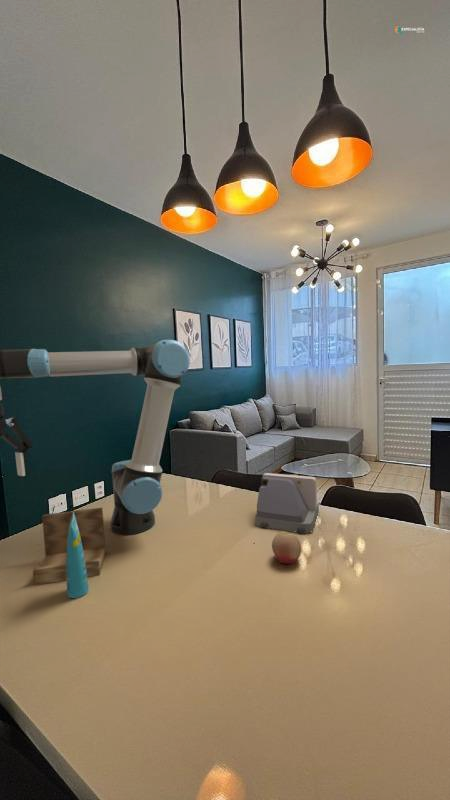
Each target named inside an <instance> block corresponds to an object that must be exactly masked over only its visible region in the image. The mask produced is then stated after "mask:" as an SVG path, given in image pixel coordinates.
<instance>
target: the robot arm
mask: <svg viewBox="0 0 450 800" xmlns="http://www.w3.org/2000/svg"><path fill="white" fill-rule="evenodd" d="M190 363H191V356H190V353H189V350H187V348H186V346H185V345H184V344H183V343H182V342H179V341H177V340H175V339H163V340H160V341H158V342H156V343H153V344H150V345H147V346H142V347H141V346H140V347H139V346H138V347H131V348H130V350H107V351H106V350H101V351H100V350H98V351H97V350H96V351H92V350H91V351H59V352H58V351H57V352H56V351H55V352H54V351H53V352H51V351H50V352H48V351H47V349H45V348H38V349H37V348H30V349H29V348H26V349H25V348H24V349H23V348H22V349H0V380H1V379H5V380H6V379H22V378H26V379H35V378H49V377H70V376H71V377H72V376H74V377H75V376H88V375H89V376H92V375H113V374H115V375H117V374H131V375H132V376H134V377H137V376H139V377H140V376H144V377H143V379H144V381H145V382H146V384H147V386H146V391H145V395H144V399H143V400H144V401H143V405H142V409H141V414H140V418H139V422H138V428H137V433H136V438H135V443H134V447H133V450H132V451H133V452H132V455H131V456H132V457H131V459H127V460H121V461H118V462H115V463H113V464H112V466H111V474H112V475H111V477H112V488H113V503H114V507H113V511H112V515H111V519H110V531H111V532H113V534H116V535H123V536H125V535H126V536H128V535H137V534H139V533H142V532H146V531H148V530H149V529H151V528H153V526H155V524H156V515H155V513H154V509H156V508H157V507H158V506H159V504H160V503H161V502H162V501H161V500H162V497H163V489H162V485H161V484H160V483H161V480H162V474H163V469H162V466H161V465H160V460H161V456H162V451H163V447H164V442H165V437H166V434H167V433H166V431H167V428H168V423H169V419H170V418H169V417H170V413H171V407H172V403H173V398H174V393H175V391H176V390H177V389H178V388H180V387H181V384H182V379H183V375H185V373H186V372H187V371H188V369H189V368H190ZM2 396H3V395H2V388H1V385H0V401H2V400H3V397H2ZM3 405H4V404H3V403H2V402H0V438H1V439H3V440H4V441H5V442H6V443H8V444H9V445H10V446H11V447H13V448H14V449H16V450H17V452H16V451H15V452H14V454H15V455H14V456H15V463H16V464H15V465H16V472H17V476H19V477H25V476H26V469H25V464H26V463H27V459H28V458H27V452H28V451H29V449H32V448H33V447H34V446H33V444H32V442H31V441H30V439H29V438H28V436H26V434H25V432H24V431H23V429H22V428H21V426H20V425H19V420H18V418H17V417H9V418H8V419H5V413H4V406H3ZM6 425H7V426H8V427H10V429H11V431H13V433H14V435H15V436H16V437H17V439H18V440H19V441H20V442H19V441H18V440H17V439H15V438H14V437H13V436H12V435H11V434H10V433H9V432H8V431H6V430H5V427H6Z"/></svg>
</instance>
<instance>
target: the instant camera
mask: <svg viewBox="0 0 450 800" xmlns="http://www.w3.org/2000/svg"><path fill="white" fill-rule="evenodd" d="M257 496H258V497H257V502H256V514H255V526H256V527H258V526H259V528H263V527H264V529H270V528H272V529H271V530H276V529H280V530H279V531H283V530H286V531H285V532H290V531H294V532H293V533H296V532H300V533H299V534H303V533H310V532H311V531H313V532H314V530H313V528H314V529H315V527H314V525H315V526H316V524H315V522H316V523H317V521H316V519H317V520H318V518H317V516H318V517H319V515H318V513H319V514H320V512H319V511H320V510H319V509H320V506H319V505H320V501H319V500H318V499H317V478H316V477H314V476H306V475H297V474H296V475H294V474H284V473H282V474H281V473H270V472H265V473H264V474H262V477H261V485H260V487H259V490H258V495H257ZM295 531H296V532H295ZM310 534H311V533H310Z"/></svg>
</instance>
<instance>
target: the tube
mask: <svg viewBox="0 0 450 800" xmlns="http://www.w3.org/2000/svg"><path fill="white" fill-rule="evenodd" d="M72 511H73V515H72V518H71V521H70V525H69V531H68V540H67V562H66V570H67V580H66V596H67V597H68V598H69V599H77V598H81V597H84V596H85V595H86V594H87V593H88V591H89V582H88V581H89V579H88V577H87V572H86V565H85V559H84V553H83V547H82V542H81V537H80V533H79V529H78V525H77V521H76V518H75V515H74V511H75V510H72Z"/></svg>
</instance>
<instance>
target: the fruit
mask: <svg viewBox="0 0 450 800" xmlns="http://www.w3.org/2000/svg"><path fill="white" fill-rule="evenodd" d="M271 550H272V553H273V555H274V556H275V558H276V559H277V560H278V561H279V562H281V563H282V564H285V565H288V564H289V565H290V564H293V563H296V561H297V560H298V559H299V557H300V556H301V552H302V545H301V542H300V539H299V537H298V536H297V535H296V534H294V533H292V532H289V531H283V530H280V531H278V532H277V533H276V534H275V535H274V537H273V539H272V542H271Z"/></svg>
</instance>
